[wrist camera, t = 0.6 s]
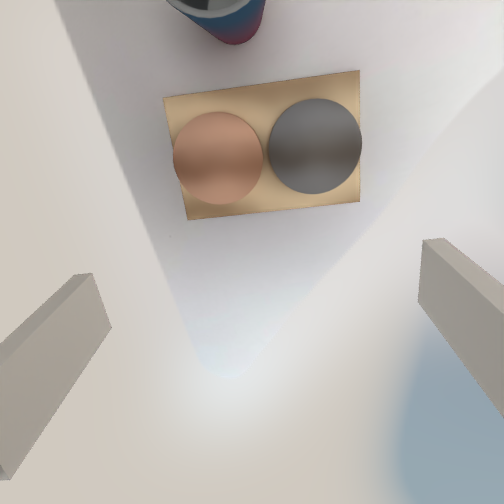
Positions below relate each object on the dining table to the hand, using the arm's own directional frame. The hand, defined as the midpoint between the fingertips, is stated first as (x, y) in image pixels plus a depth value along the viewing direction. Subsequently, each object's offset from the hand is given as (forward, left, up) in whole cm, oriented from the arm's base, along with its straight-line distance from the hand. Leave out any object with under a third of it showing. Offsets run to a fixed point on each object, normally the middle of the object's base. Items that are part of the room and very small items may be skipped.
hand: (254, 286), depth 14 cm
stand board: (-2, +1, -24) cm, 24 cm away
